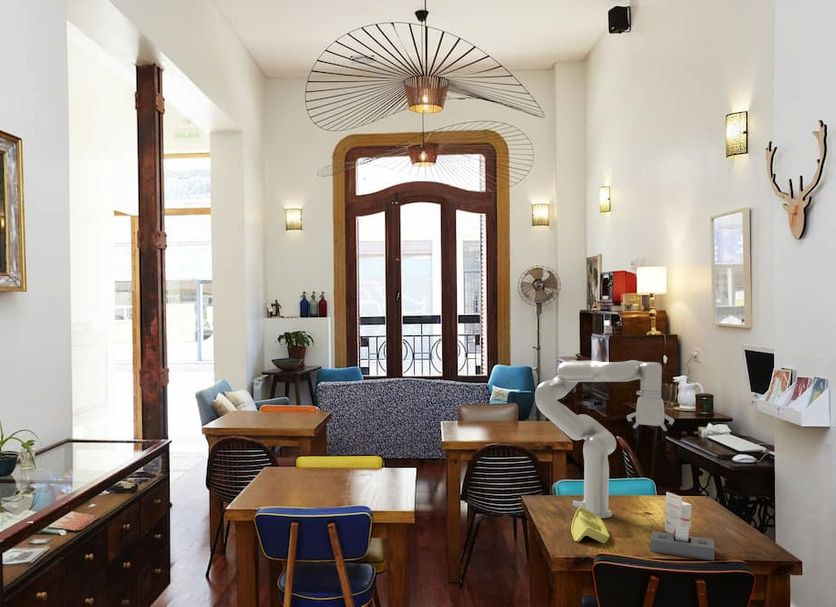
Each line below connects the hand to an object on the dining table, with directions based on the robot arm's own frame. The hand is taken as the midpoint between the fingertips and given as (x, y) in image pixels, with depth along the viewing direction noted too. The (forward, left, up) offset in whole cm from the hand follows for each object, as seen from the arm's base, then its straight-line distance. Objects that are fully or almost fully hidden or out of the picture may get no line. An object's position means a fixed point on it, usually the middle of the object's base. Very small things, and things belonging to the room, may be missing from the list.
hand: (649, 439), depth 269 cm
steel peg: (+13, -26, -32) cm, 43 cm away
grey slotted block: (+13, -26, -32) cm, 43 cm away
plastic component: (-18, -23, -33) cm, 44 cm away
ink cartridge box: (+11, -7, -33) cm, 35 cm away
